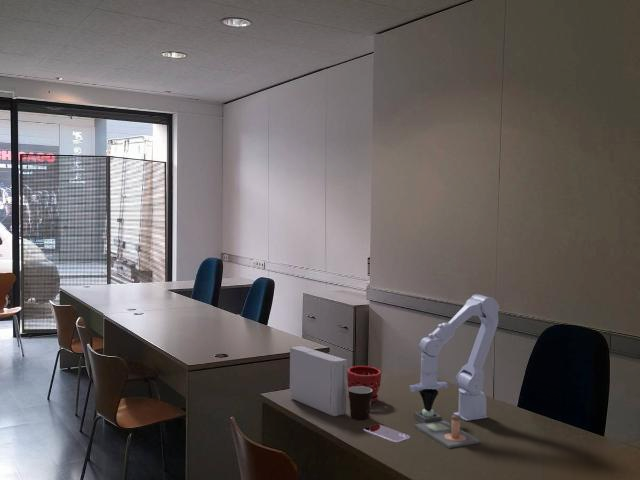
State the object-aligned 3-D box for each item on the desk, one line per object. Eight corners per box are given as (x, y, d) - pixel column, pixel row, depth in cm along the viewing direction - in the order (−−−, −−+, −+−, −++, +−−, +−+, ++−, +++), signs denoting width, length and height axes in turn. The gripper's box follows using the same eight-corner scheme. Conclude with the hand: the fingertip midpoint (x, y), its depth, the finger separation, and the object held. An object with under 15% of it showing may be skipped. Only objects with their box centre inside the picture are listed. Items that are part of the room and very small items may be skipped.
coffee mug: (364, 423, 213) (365, 394, 213) (343, 418, 218) (343, 390, 217) (379, 414, 223) (380, 386, 223) (358, 409, 228) (359, 382, 227)
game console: (333, 417, 219) (334, 362, 218) (289, 398, 240) (289, 347, 239) (346, 414, 223) (347, 359, 222) (300, 395, 244) (301, 345, 243)
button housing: (430, 415, 222) (430, 410, 222) (441, 422, 216) (441, 416, 215) (413, 418, 219) (414, 412, 219) (424, 424, 213) (424, 418, 213)
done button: (429, 414, 220) (429, 408, 220) (435, 418, 216) (436, 411, 216) (419, 416, 218) (420, 409, 218) (426, 419, 215) (426, 412, 215)
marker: (456, 435, 201) (456, 414, 200) (461, 438, 198) (461, 416, 198) (449, 436, 200) (449, 415, 199) (454, 439, 197) (454, 417, 197)
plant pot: (341, 402, 235) (342, 372, 235) (353, 393, 247) (353, 364, 247) (374, 407, 230) (375, 376, 230) (384, 397, 242) (385, 367, 242)
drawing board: (443, 422, 215) (443, 419, 215) (480, 442, 197) (480, 440, 197) (414, 426, 211) (414, 424, 211) (448, 448, 192) (448, 445, 192)
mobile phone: (377, 422, 212) (411, 435, 201) (377, 425, 212) (411, 438, 201) (362, 427, 207) (396, 440, 196) (362, 430, 207) (395, 444, 196)
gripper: (417, 376, 210) (416, 415, 211) (452, 372, 216) (451, 411, 216) (406, 371, 216) (405, 409, 217) (441, 368, 222) (440, 405, 223)
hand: (427, 409), depth 217 cm, fingers closed
